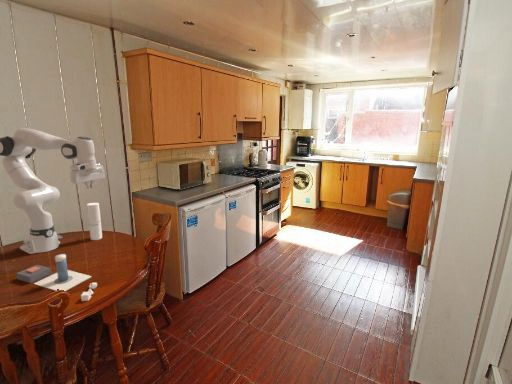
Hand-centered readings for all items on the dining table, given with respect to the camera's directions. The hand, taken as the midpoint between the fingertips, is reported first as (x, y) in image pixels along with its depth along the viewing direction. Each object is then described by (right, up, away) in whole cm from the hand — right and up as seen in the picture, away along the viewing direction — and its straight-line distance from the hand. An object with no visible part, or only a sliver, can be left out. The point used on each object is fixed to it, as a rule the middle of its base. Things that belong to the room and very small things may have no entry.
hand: (90, 188), depth 168 cm
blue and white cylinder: (0, -47, -23) cm, 52 cm away
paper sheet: (0, -47, -23) cm, 53 cm away
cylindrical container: (-14, -35, +32) cm, 49 cm away
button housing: (-17, -46, -20) cm, 53 cm away
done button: (-17, -45, -20) cm, 52 cm away
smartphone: (-46, -34, +32) cm, 66 cm away
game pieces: (+20, -51, -33) cm, 64 cm away
